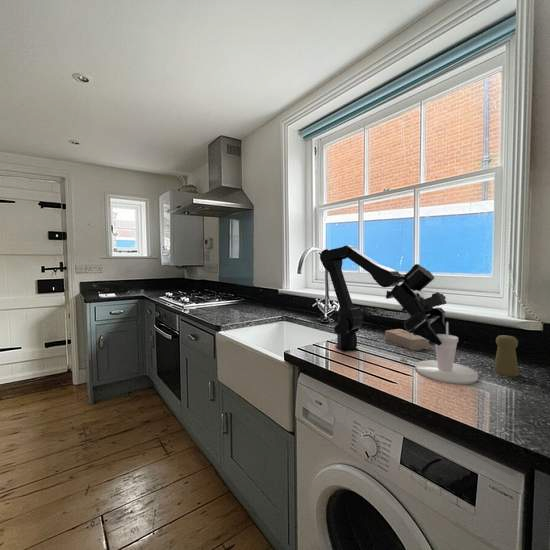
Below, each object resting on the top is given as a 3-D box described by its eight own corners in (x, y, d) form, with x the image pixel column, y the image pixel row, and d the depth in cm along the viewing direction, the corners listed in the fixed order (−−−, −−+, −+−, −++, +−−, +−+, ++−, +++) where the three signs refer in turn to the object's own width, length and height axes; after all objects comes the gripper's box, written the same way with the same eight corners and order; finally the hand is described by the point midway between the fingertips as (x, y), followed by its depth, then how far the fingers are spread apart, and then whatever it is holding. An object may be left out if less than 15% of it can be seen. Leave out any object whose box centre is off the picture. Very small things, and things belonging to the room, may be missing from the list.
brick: (430, 349, 112) (431, 337, 112) (412, 351, 109) (413, 338, 109) (400, 339, 128) (400, 328, 127) (384, 340, 125) (384, 329, 125)
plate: (445, 386, 77) (445, 382, 77) (403, 366, 92) (403, 362, 92) (492, 380, 81) (492, 376, 81) (445, 362, 96) (445, 358, 96)
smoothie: (440, 372, 84) (441, 324, 83) (428, 365, 90) (429, 319, 89) (462, 373, 84) (464, 324, 83) (449, 365, 90) (450, 319, 89)
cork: (488, 369, 90) (489, 333, 90) (506, 368, 91) (507, 333, 90) (505, 376, 84) (506, 338, 84) (524, 376, 85) (525, 338, 84)
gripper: (415, 285, 83) (459, 330, 76) (439, 282, 96) (478, 321, 88) (388, 309, 89) (425, 353, 82) (413, 304, 102) (448, 341, 94)
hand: (446, 341), depth 86 cm, fingers open, 9 cm apart
